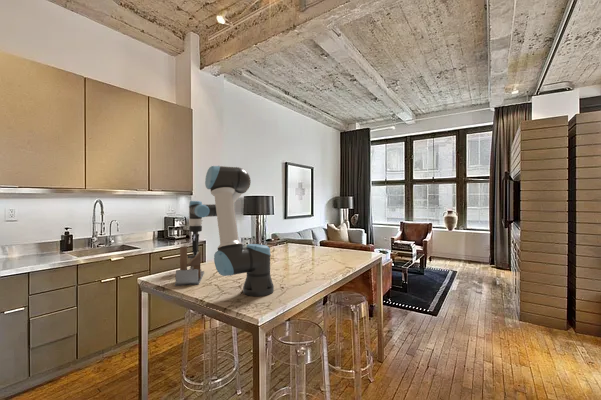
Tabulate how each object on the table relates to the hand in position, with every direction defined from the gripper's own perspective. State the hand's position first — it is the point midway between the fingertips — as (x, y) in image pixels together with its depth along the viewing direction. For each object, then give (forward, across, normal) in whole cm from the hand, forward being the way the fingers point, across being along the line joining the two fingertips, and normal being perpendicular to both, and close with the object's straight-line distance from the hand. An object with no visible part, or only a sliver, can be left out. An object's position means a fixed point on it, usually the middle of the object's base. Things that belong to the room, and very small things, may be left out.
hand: (195, 262), depth 179 cm
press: (+5, -19, 0) cm, 20 cm away
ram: (+4, -11, 0) cm, 12 cm away
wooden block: (+4, -22, 0) cm, 22 cm away
